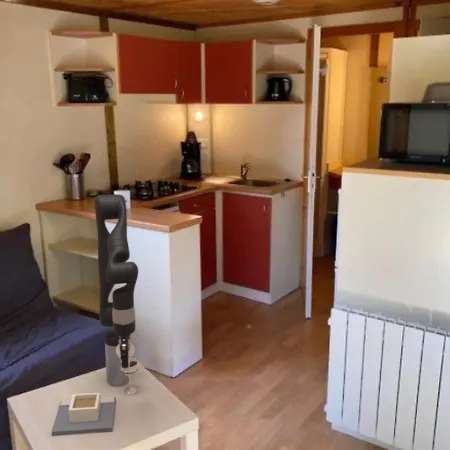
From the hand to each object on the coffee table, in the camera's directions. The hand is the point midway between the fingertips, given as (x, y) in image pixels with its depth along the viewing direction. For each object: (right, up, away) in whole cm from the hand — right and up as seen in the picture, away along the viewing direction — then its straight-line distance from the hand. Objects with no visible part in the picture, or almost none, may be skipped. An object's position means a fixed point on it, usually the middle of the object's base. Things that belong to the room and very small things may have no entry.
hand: (125, 362), depth 179 cm
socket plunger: (-15, -17, +3) cm, 23 cm away
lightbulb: (0, -3, +1) cm, 3 cm away
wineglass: (-2, -17, +21) cm, 27 cm away
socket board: (-15, -21, +4) cm, 26 cm away
